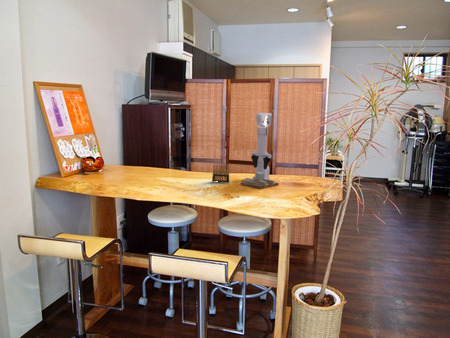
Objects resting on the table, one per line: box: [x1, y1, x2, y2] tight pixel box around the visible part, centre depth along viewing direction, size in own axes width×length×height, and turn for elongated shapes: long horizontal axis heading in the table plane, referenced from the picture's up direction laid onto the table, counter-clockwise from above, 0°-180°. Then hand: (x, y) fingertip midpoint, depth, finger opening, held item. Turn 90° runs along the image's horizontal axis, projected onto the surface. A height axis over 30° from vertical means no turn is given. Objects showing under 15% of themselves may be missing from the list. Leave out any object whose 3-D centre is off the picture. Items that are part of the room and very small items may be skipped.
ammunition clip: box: [211, 162, 230, 183], centre depth 234 cm, size 11×2×12 cm, turn 80°
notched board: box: [239, 175, 280, 190], centre depth 231 cm, size 18×16×4 cm
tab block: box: [254, 172, 265, 181], centre depth 231 cm, size 4×4×6 cm
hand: (260, 168), depth 230 cm, fingers open, 7 cm apart
